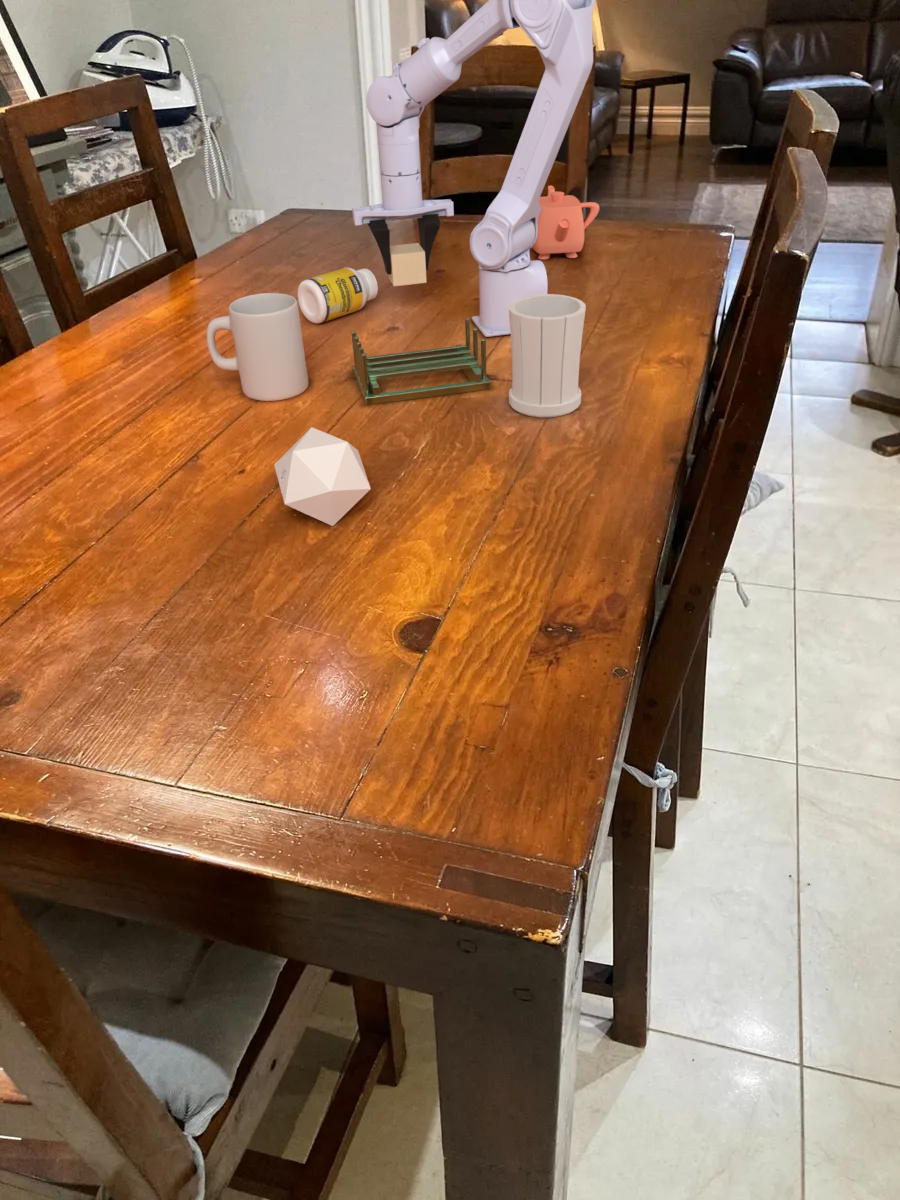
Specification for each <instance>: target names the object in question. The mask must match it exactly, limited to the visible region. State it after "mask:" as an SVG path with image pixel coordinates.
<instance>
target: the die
mask: <svg viewBox="0 0 900 1200" xmlns="http://www.w3.org/2000/svg"><path fill="white" fill-rule="evenodd" d="M273 466H274V469H275V474H276V477H277V481H278V483H279V484H278V485H279V490H280V492H281V496H282V500H283V503H284V505H285V506H286V507H290V508H292V509H294V510H296V511H297V512H301V513H303V514H304V515H307V516H309V517H311V518H314V519H316V520H318V521H320V522H323V523H325V524H327V525H329V526H331V527H333V526H335V525H336V524H337V523H338V522H339V521H340V520H341V519H342V518H343V517H344V516H345V515H346V514H347V513H348V512H349V511H350V510H351V509H352V508H354V506H355V505H356V504H357V503H359V501H360V500H361V499H362V498H363V497H364V496H365V495H366V494H367V493H369V491H370V490H372V488H371V485H370V482H369V480H368V476H367V473H366V470H365V467H364V465H363V460H362V458H361V456H360V451H359V450H358V449H357V448H356V447H355V446H353V445H352V444H351V443H350V442H349V441H346V440H345V439H342V438H339V437H337V436H335V435H332V434H330V433H327V432H325V431H323V430H320V429H317V428H315V427H312V426H311V427H310V428H309V429H308V430H307V431H306V432H305V433H304V434H303V435H302V436H301V437H300V438H299V439H298V440H297V441H296V442H295V443H294V444H293V445H292V446H291V447H290V448H289V449H288V450H286V452H285V453H284V454H283V455H282V456H281V457H279V459H278V460H277V461H276V462H275V463H274V464H273Z"/></svg>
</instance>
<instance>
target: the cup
mask: <svg viewBox="0 0 900 1200" xmlns="http://www.w3.org/2000/svg"><path fill="white" fill-rule="evenodd" d="M586 310H587V307H586V303H585V302H583V301H582V300H581V299H579V298H576V297H573V296H569V295H565V294H556V293H547V294H539V295H530V296H526V297H522V298H519V299H517V300H515V301H513V302H512V303H511V304H510V305H509V320H510V333H511V334H510V346H511V369H512V370H511V373H512V375H511V378H512V379H511V380H512V386H511V387H510V389H509V390H508V405H509V406H510V407H511V408H512V409H513V410H514V411H516V412H517V413H519V414H521V415H524V416H527V417H533V418H541V419H542V418H543V419H544V418H547V419H548V418H549V419H550V418H557V417H562V416H565V415H569V414H571V413H573V412H574V411H575V410H577V409H578V408H579V407H580V405H581V403H582V389H581V388H580V387H579V377H580V365H581V364H580V363H581V352H582V342H583V335H584V325H585V319H586Z"/></svg>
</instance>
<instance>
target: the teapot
mask: <svg viewBox="0 0 900 1200" xmlns="http://www.w3.org/2000/svg"><path fill="white" fill-rule="evenodd" d="M539 204H540V206H541V212H540V215H539V218H538V236H537V240H536V242H535V244H534V245H533V246H532V248H531V249H532V250H533V251H534V252H535V253H537V254H538V256H537V259H538V260H548V259H550V258H551V254H565V257H566V258H568V259H575V258H578V253H579V252H581V251H582V249H583V247H584V244H585V230H586V229H587V228H588V227H589V226H590V224H591V223H592V222H593V221H594V220H595V218H597V216H598V215H599V212H600V204H599V203H597V202H594V201H586V202H581V201H580V200H579V198H577V197H576V196H575V195H570V194H566V195H565V192H563V191H559V190H558V191H556V190H555V187H554V186H553V185H548V186H547V196H540V198H539ZM584 208H585V209H586V208H587V209H590V210H589V211H590V212H589V214H588V215H587V217H586V219H585V221H584V214H583V209H584Z"/></svg>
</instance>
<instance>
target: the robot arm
mask: <svg viewBox="0 0 900 1200" xmlns="http://www.w3.org/2000/svg"><path fill="white" fill-rule="evenodd" d="M595 4H596V0H487V1H486V2H485V3H484V4H483V5H482V6H481V7H479V9H477V11H476V12H474V13H473V14H472V15H471V16H470V17H469V18H468V19H467V20H466V21H465V22H464V23H463V24H462V25H460V26H459V27H458V28H457V29H456V30H454V32H453V33H452V34H451V35H450V36H449V37H447V38H442V37H439V36H433V37H431V38H430V37H425V38H422V39H420V41H418V42H417V44H416V47H417V48H418V49H417V50H416V51H415V52H414V53H413V54H411V55H410V56H409V57H408V58H407V59H406V60H404V61H403V62H402V61H399V62H396V63H395V64H394V65H393V66H392V70H393V71H392V73H391V75H388V76H387V75H383V76H378V77H375V79H373V82H372V83H371V85H370V86H369V87H368V90H367V92H366V98H365V99H366V100H365V101H366V108H367V111H368V113H369V116H370V117H371V119H372V120H373V121H374V122H375V123H376V134H377V135H376V136H377V137H376V138H377V147H378V159H379V172H380V174H379V175H380V187H381V198H382V203H378V204H374V205H367V206H362V207H355V208H354V207H353V208H352V209H351V213H352V214H351V215H352V223H353V225H354V226H356V227H358V226H362V225H364V224H365V225H366V224H367V226H368V227H369V230H370V231H371V233H372V235H373V237H374V240H375V242H376V244H377V246H378V249H379V251H380V254H381V258H382V261H383V265H384V271H385V273H386V274H387V275H388V274H391V255H390V246H391V240H390V239H391V237H390V235H391V233H390V232H391V230H390V228H389V227H388V223H387V222H393V221H403V220H413V219H417V225H418V226H417V227H418V233H419V236H418V237H419V245H420V246H421V247H422V249H423V250H424V251H425V262H426V271H429V264H430V258H431V253H432V249H433V245H434V243H435V240H436V237H437V235H438V232H439V230H440V228H441V220H440V219H439V218H440V217H443V216H444V217H445V216H446V217H454V215H455V213H454V212H455V210H454V207H455V206H454V201H452V199H450V198H449V199H447V198H446V199H423V186H422V170H421V169H422V167H421V151H420V150H421V149H420V148H421V147H420V135H419V134H420V133H419V129H420V119H421V115H422V113H423V112H424V110H425V107H426V106H427V105H428V104H429V103H431V102H432V101H433V100H434V99H436V98H437V97H438V96H439V95H441V94H442V93H444V92H445V91H447V89H448V88H450V87H451V86H452V85H453V84H455V83H456V82H457V81H458V80H459V79H460V77H461V74H462V65H463V63H464V62H466V60H468V59H470V58H471V57H472V56H473V55H475V54H476V53H477V52H479V51H480V50H482V49H483V48H484V47H486V46H487V45H488V44H490V43H491V42H492V41H494V40H495V39H496V38H498V37H499V36H501V35H502V34H503V33H505V32H506V31H508V30H513V29H518V28H520V29H521V30H522V31H523V33H524V34H525V35H526V36H527V37H528V39H529V40H530V41H531V42H532V44H533V45H534V46H535V47H536V49H537V51H538V52H539V55H540V57H541V60H542V63H543V64H544V68H545V69H544V72H543V75H542V77H541V80H540V83H539V85H538V88H537V90H536V93H535V97H534V99H533V102H532V105H531V108H530V110H529V112H528V116H527V118H526V121H525V124H524V126H523V129H522V132H521V134H520V137H519V140H518V143H517V145H516V148H515V150H514V153H513V156H512V158H511V161H510V164H509V167H508V169H507V172H506V174H505V178H504V180H503V183H502V186H501V188H500V191H499V192H498V194H497V195H496V196H495V197H494V199H493V200H492V202H491V203H490V204H489V206H488V208H487V209H486V212H485V214H484V216H483V218H482V220H481V221H480V222H479V223H477V225H475V226H474V228H473V229H472V231H471V233H470V236H469V249H470V252H471V256H472V257H473V259H474V260H475V262H477V264H478V296H479V298H478V299H479V304H478V305H479V315H474V316H472V317H471V321H473V323H474V325H475V326H476V328H477V329H478V330H479V331H480V332H481V333H482V335H483V336H484V337H486V338H490V337H498V336H499V337H500V336H506V335H511V333H510V320H509V305H510V304H511V303H512V302H513V301H515V300H517V299H519V298H522V297H526V296H530V295H539V294H549V293H548V290H549V289H548V287H549V285H548V282H549V281H548V275H547V268H546V266H545V264H544V262H543V261H542V260H540V259H536V260H531V257H530V256H531V255H530V254H531V253H530V250H531V249H533V248H532V246H533V245H534V244H535V242H536V240H537V236H538V218H539V215H540V212H541V206H540V204H539V198H540V197H542V193H543V190H544V188H545V186H546V183H547V181H548V178H549V176H550V173H551V172H552V171H551V170H552V168H553V165H554V163H555V161H556V158H557V156H558V153H559V151H560V149H561V145H562V144H563V142H564V139H565V136H566V133H567V131H568V129H569V126H570V124H571V121H572V118H573V116H574V113H575V111H576V109H577V106H578V103H579V101H580V99H581V96H582V94H583V91H584V89H585V86H586V84H587V81H588V79H589V76H590V75H591V71H592V69H593V65H594V41H593V40H594V37H593V12H594V8H595Z"/></svg>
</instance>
